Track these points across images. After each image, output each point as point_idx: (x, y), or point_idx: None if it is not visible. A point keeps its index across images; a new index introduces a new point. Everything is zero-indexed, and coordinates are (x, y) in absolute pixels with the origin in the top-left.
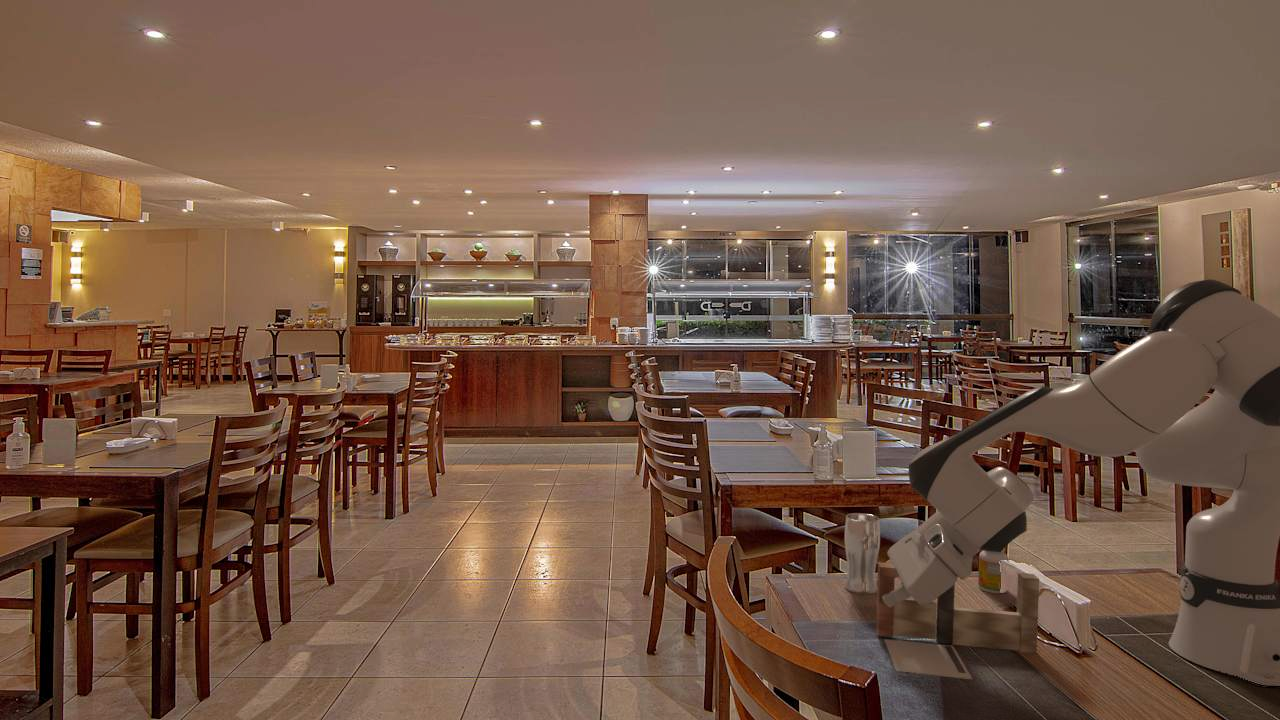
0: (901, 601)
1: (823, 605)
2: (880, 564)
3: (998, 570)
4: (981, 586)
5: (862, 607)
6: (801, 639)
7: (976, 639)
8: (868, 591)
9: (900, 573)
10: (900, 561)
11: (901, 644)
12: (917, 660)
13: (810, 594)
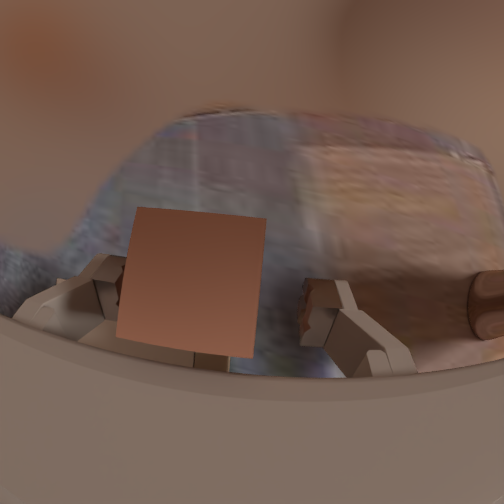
0: (198, 367)
1: (394, 194)
2: (203, 225)
3: None
4: None
5: (406, 290)
6: (197, 115)
7: None
8: (473, 318)
9: (50, 347)
10: (241, 440)
11: None
12: (95, 345)
13: (438, 183)
